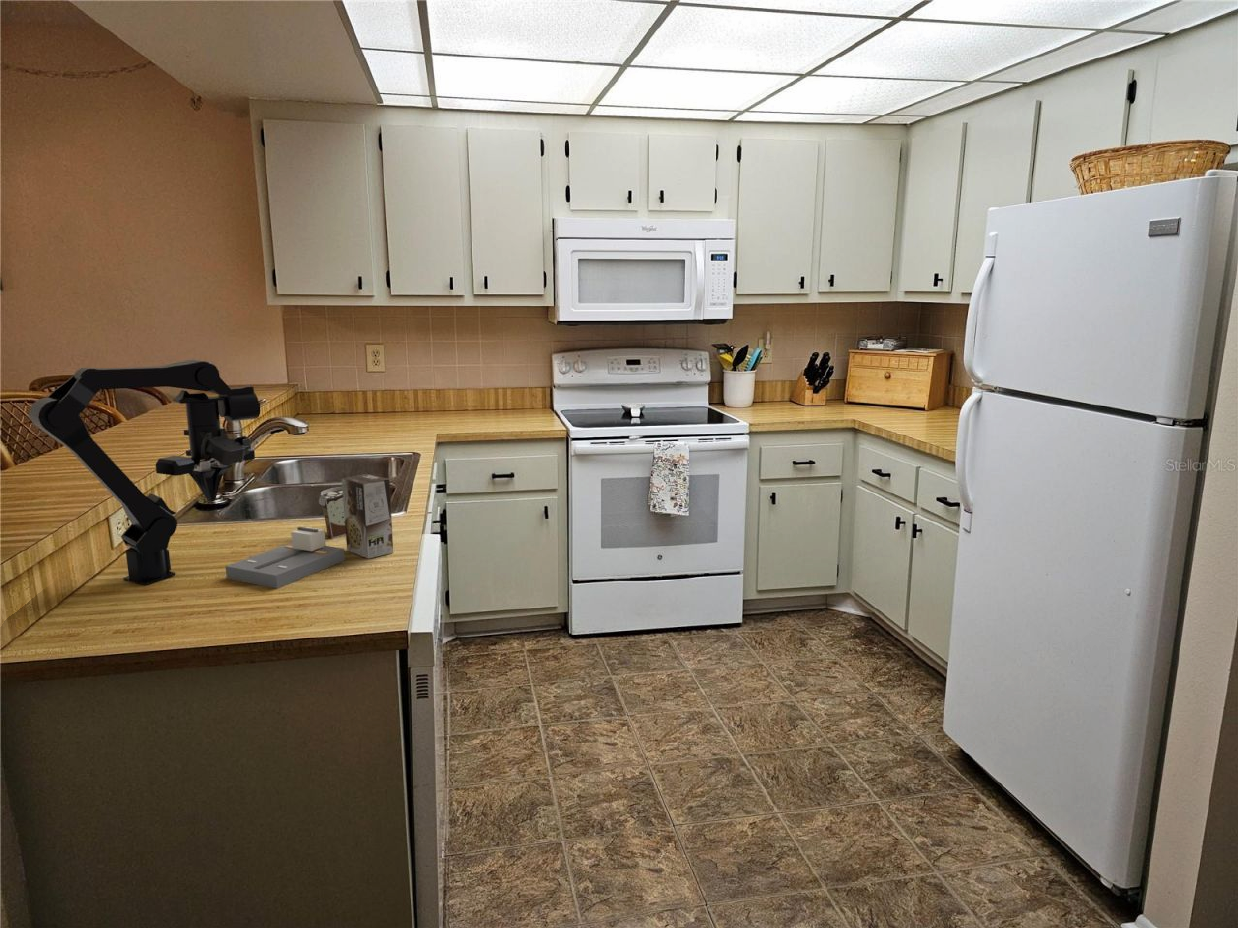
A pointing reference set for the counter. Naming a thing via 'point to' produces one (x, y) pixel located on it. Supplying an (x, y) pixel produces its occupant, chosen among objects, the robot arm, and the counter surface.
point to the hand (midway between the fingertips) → (211, 501)
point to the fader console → (283, 565)
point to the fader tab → (308, 538)
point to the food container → (333, 511)
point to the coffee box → (367, 515)
